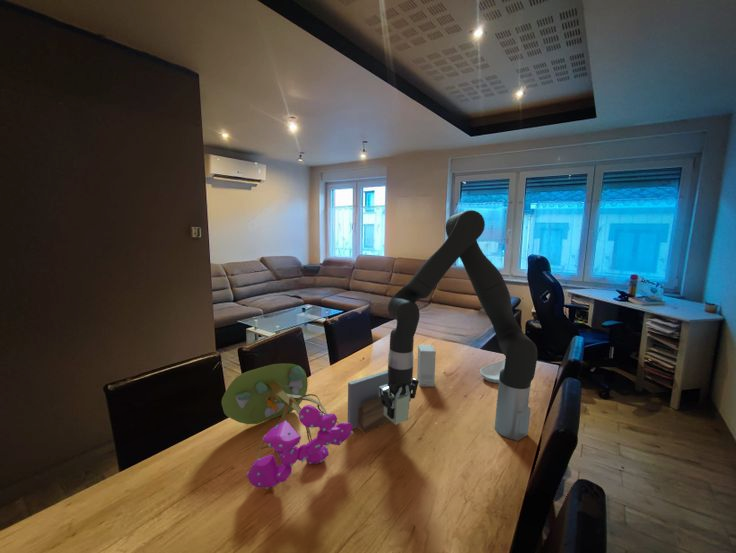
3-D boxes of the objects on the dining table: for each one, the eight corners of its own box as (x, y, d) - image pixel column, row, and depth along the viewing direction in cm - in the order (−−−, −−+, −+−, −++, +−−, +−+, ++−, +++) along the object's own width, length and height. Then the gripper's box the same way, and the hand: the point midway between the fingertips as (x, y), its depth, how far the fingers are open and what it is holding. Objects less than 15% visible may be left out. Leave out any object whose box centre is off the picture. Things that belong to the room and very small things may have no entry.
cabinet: (408, 419, 99) (409, 395, 98) (395, 424, 96) (396, 400, 95) (389, 405, 106) (390, 382, 105) (377, 409, 103) (378, 386, 102)
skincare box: (434, 387, 133) (436, 351, 130) (418, 386, 133) (420, 351, 130) (431, 377, 141) (432, 344, 139) (416, 377, 141) (417, 343, 139)
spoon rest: (497, 389, 133) (499, 373, 131) (473, 378, 142) (475, 363, 141) (528, 375, 146) (529, 360, 145) (504, 365, 156) (506, 351, 154)
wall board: (397, 410, 115) (398, 369, 113) (350, 430, 104) (350, 384, 101) (394, 408, 117) (395, 367, 114) (347, 427, 105) (348, 382, 103)
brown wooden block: (397, 418, 111) (398, 392, 109) (364, 433, 103) (364, 405, 101) (390, 413, 114) (391, 388, 112) (357, 427, 106) (358, 399, 104)
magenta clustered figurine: (303, 332, 107) (354, 393, 79) (318, 396, 118) (368, 469, 90) (207, 372, 93) (229, 462, 66) (236, 440, 105) (264, 541, 77)
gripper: (389, 373, 89) (387, 429, 92) (426, 362, 97) (423, 413, 100) (374, 363, 95) (372, 415, 98) (410, 353, 103) (407, 402, 106)
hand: (398, 414), depth 99 cm, fingers closed on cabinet, 5 cm apart
